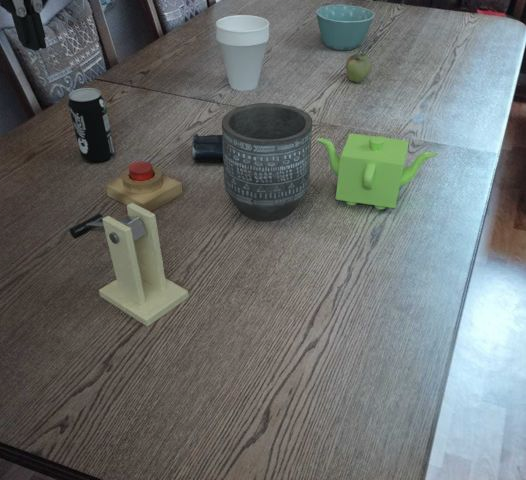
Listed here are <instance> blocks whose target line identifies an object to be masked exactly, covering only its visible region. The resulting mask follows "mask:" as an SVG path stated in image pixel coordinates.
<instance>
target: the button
mask: <svg viewBox="0 0 526 480" xmlns="http://www.w3.org/2000/svg"><path fill="white" fill-rule="evenodd" d="M152 165H153V164H152V163H150V162H148V161H137V162H133V163H131V164H130V165H129V167H128V168H129V172H130V178H131V179H132V180H134V181H145V180H149V179H151V178H153V176H154V174H153V168H152Z"/></svg>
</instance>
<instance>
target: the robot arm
mask: <svg viewBox="0 0 526 480" xmlns="http://www.w3.org/2000/svg"><path fill="white" fill-rule="evenodd" d="M43 4H44V0H0V7H1V8H2V9H4V10H5V11H6V12H7V13H8V14H11V19H12V21H13V25H14V28H15V31H16V34H17V35H16V36H17V38H18V41H19V42H20V43H21V45H22V47H23V48H25V49H28V50H31V51H33V52H38V51H40V49H41V50H45V49H47V43H46V40H45V39H46V33H45V29H44V25H43V21H42V16H41V13H42V12H43V8H44V7H43Z"/></svg>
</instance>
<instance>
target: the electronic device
mask: <svg viewBox="0 0 526 480" xmlns="http://www.w3.org/2000/svg"><path fill="white" fill-rule="evenodd" d="M192 137H193V138H192V143H191V151H192V153H191V154H192V160H193V161H194V162H195V163H200V162H205V163H218V162H220V163H224V161H223V141H222V134H208V135H199V134H198V133H196V132H193V136H192Z"/></svg>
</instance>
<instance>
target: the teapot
mask: <svg viewBox="0 0 526 480" xmlns="http://www.w3.org/2000/svg"><path fill="white" fill-rule="evenodd" d="M316 141H318V142H319V143H321V145H323V146H324V148H325V149H326V151H327V155H328V161H329V165H330V166H329V167H330V169H331V170H332V172H333V173H334V175H336V176H337V183H336V193H335V200H338V201H344V202H345V204H346V205H349V206H355V205H357V204H364V205H371V206H373V207H374V208H375V209H377V210H385V209H387V208H389V209H396V207H397V203H398V199H399V194H400V189H401V187H403V186H405V185H408V184H410V182H412V180H414V178H415V177H416V175H417V174H418V172H419V170H420V168H421V167H422V165H423V164H424V163H425V162H426V161H427V160H428V159H431V158H433V157H436V156H438V153H435V152H429V151H427V152H422V153H420V154H419V155H418V156H417V157H416V158H415V159H414V161H413V163H412V164H411V165H410V166H408V167H406V168H405V164H406V160H407V153H408V150H409V144H410V140H407V139H398V138H390V137H384V136H383V135H379V134H378V135H367V134H360V133H348V136H347V139H346V142H345V144H344V146H343V148H342V151H341V154H340V157H339V156H338V154H337V151H336V147H335V145H334V143H333V141H331V140H330V139H326V138H321V137H319V138H316Z"/></svg>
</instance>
